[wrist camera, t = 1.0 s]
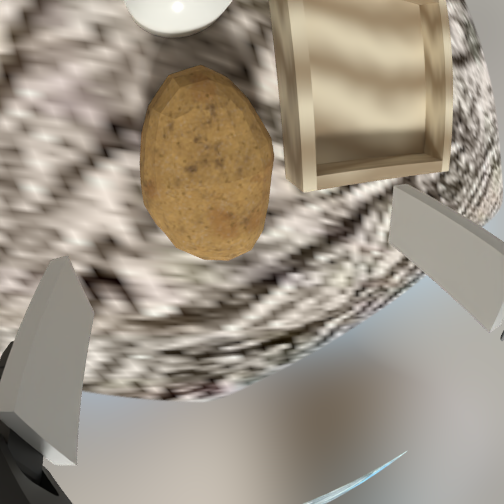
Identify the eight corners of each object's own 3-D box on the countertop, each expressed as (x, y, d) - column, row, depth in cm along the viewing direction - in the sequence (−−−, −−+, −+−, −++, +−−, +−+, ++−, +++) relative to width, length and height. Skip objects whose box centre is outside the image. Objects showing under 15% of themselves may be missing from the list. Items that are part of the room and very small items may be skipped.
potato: (246, 62, 22) (280, 53, 15) (264, 215, 29) (296, 258, 23) (125, 84, 20) (107, 82, 14) (161, 239, 28) (162, 291, 21)
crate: (264, -28, 18) (281, -43, 14) (419, -2, 21) (445, -5, 17) (285, 178, 28) (303, 192, 25) (424, 160, 31) (448, 170, 27)
